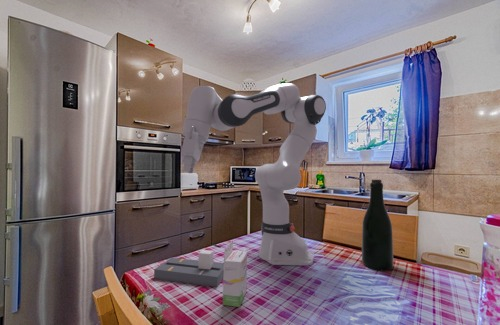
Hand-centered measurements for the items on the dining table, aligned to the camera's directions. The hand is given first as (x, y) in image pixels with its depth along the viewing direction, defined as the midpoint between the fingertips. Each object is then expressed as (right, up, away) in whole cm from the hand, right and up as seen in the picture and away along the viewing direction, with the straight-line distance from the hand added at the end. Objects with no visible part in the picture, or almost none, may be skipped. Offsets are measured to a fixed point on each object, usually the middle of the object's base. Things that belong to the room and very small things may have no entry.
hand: (188, 172), depth 72 cm
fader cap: (+6, -33, +1) cm, 34 cm away
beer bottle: (+69, -37, +12) cm, 79 cm away
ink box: (+16, -35, -10) cm, 40 cm away
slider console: (+1, -35, +2) cm, 35 cm away
